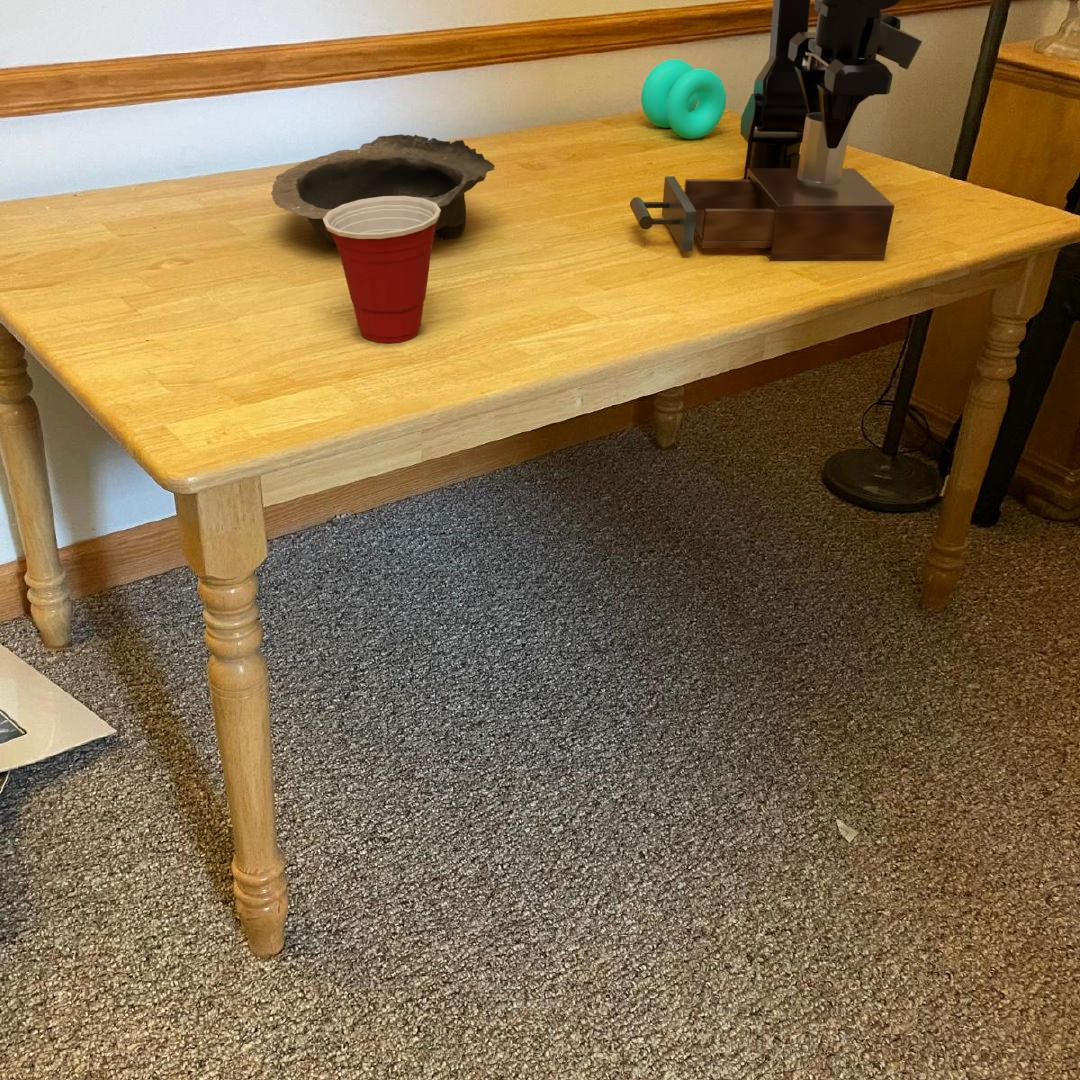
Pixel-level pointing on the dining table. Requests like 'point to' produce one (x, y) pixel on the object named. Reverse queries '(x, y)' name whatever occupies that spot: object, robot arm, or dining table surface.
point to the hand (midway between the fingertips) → (825, 141)
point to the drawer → (712, 213)
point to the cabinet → (824, 217)
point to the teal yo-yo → (683, 98)
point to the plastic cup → (386, 261)
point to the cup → (820, 154)
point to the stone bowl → (385, 179)
